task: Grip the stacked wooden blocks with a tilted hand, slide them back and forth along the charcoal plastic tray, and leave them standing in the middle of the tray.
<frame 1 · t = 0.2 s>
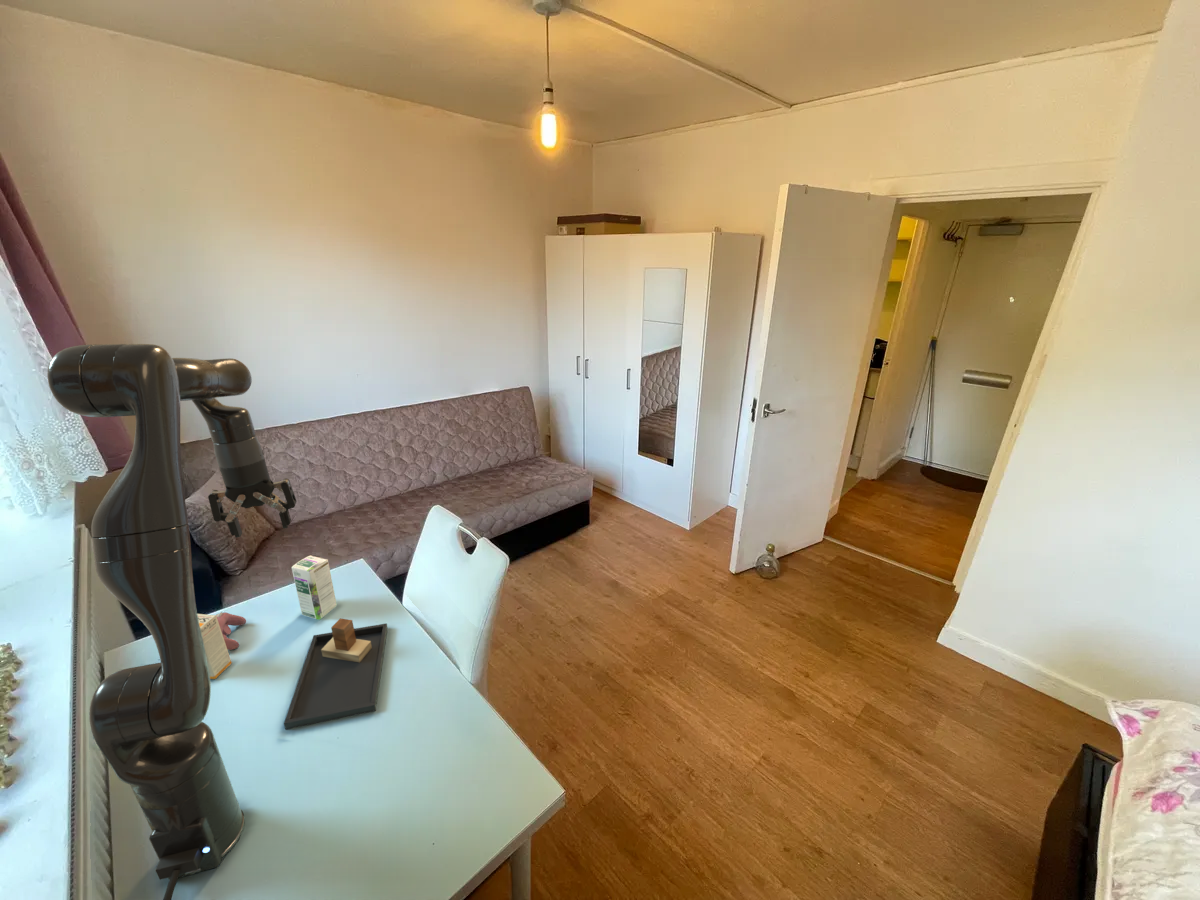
hand: (263, 531, 103), 29 cm above the table, tool pointing down, fingers open, 8 cm apart
syrup box: (320, 612, 122), on the table
supplement box: (206, 670, 104), on the table
tray: (343, 674, 104), on the table
video game controller: (228, 639, 112), on the table
stacked wooden blocks: (347, 652, 109), point 1 cm above the table, touching tray
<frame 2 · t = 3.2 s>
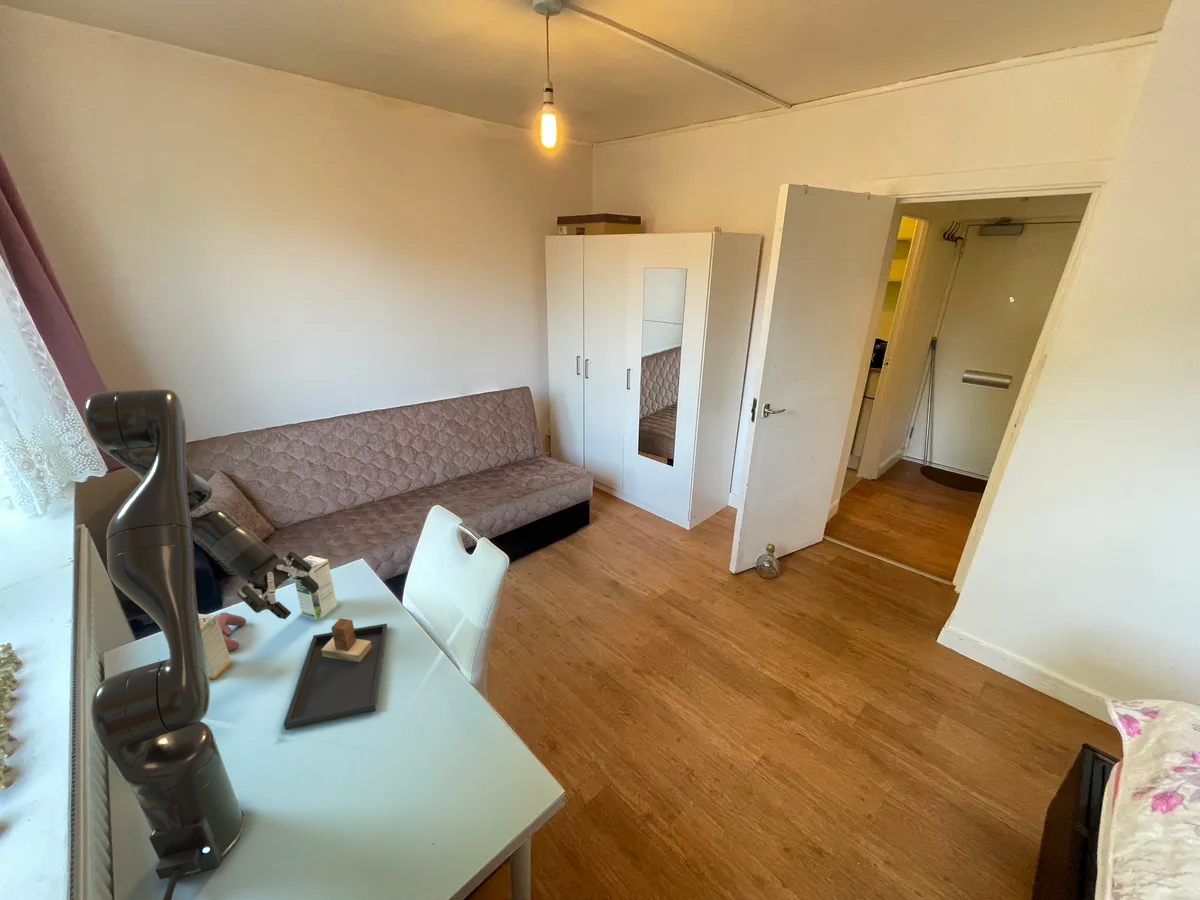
hand: (302, 603, 106), 13 cm above the table, tool tilted 45°, fingers open, 8 cm apart
nothing on the table moved.
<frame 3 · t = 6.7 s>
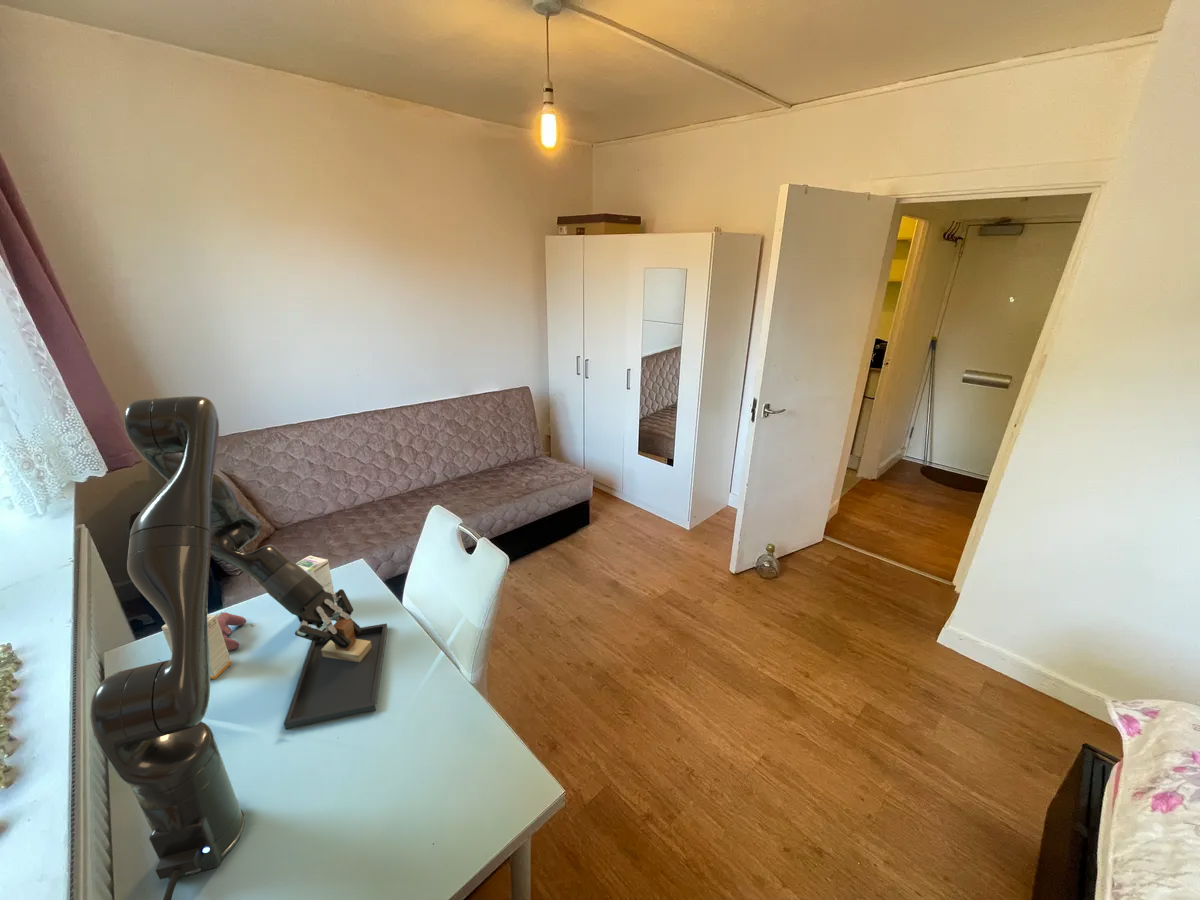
hand: (353, 639, 107), 5 cm above the table, tool tilted 45°, fingers closed on stacked wooden blocks, 3 cm apart
stacked wooden blocks: (347, 652, 109), point 1 cm above the table, touching gripper, tray
everything else where it was.
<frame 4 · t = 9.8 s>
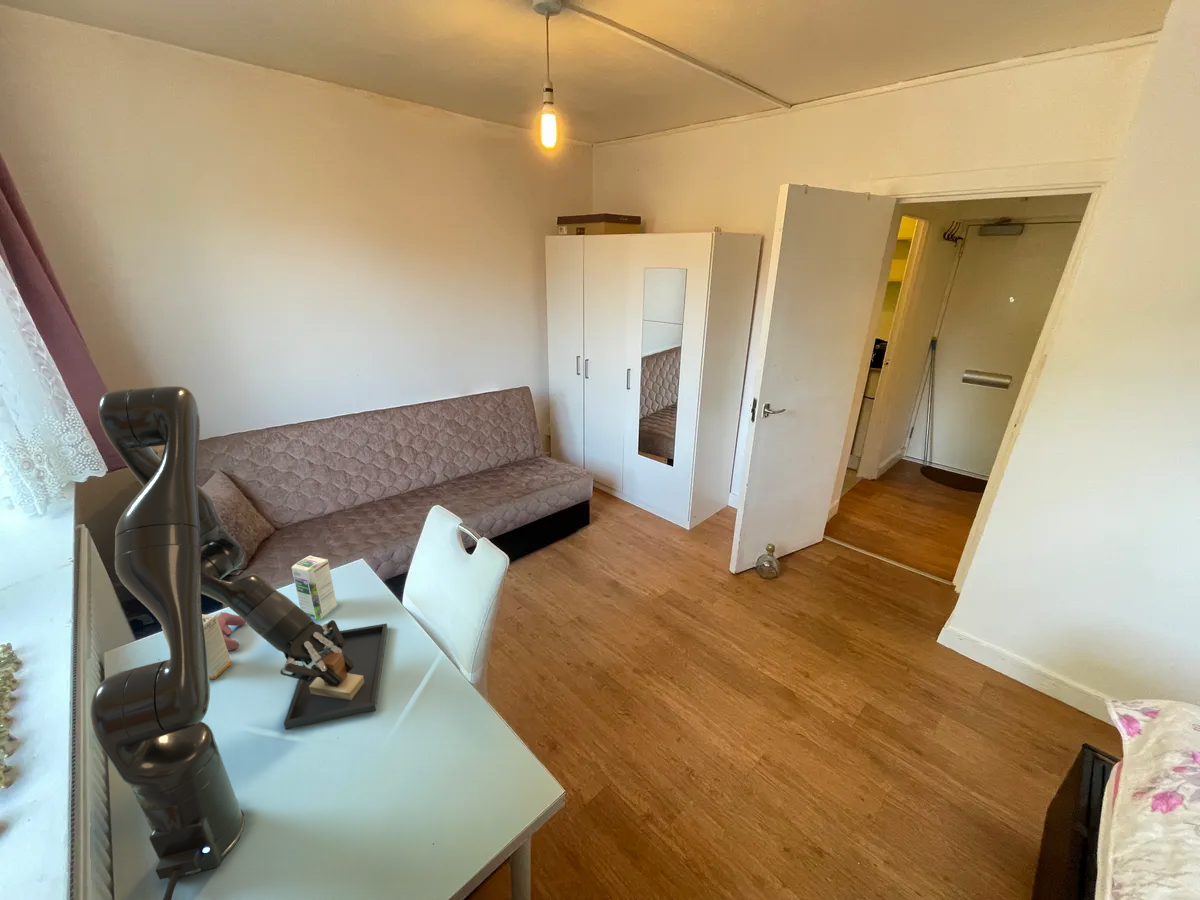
hand: (344, 676, 98), 4 cm above the table, tool tilted 45°, fingers closed on stacked wooden blocks, 3 cm apart
stacked wooden blocks: (338, 688, 100), point 1 cm above the table, touching gripper
everything else where it was.
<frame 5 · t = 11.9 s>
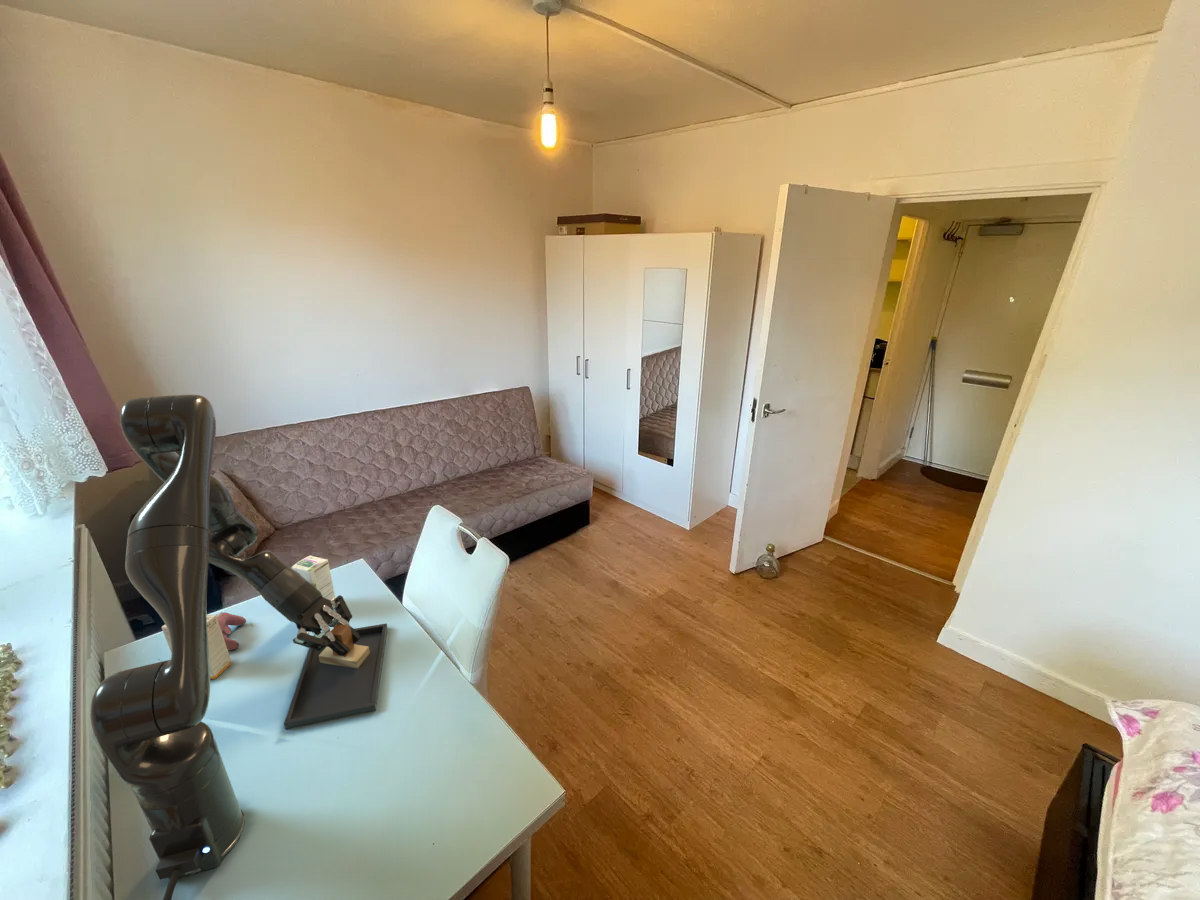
hand: (352, 646, 106), 4 cm above the table, tool tilted 45°, fingers closed on stacked wooden blocks, 3 cm apart
stacked wooden blocks: (345, 658, 107), point 1 cm above the table, touching gripper
everything else where it was.
when the fingers open (4 cm above the table, at t = 13.2 s): stacked wooden blocks stays where it is, resting on tray.
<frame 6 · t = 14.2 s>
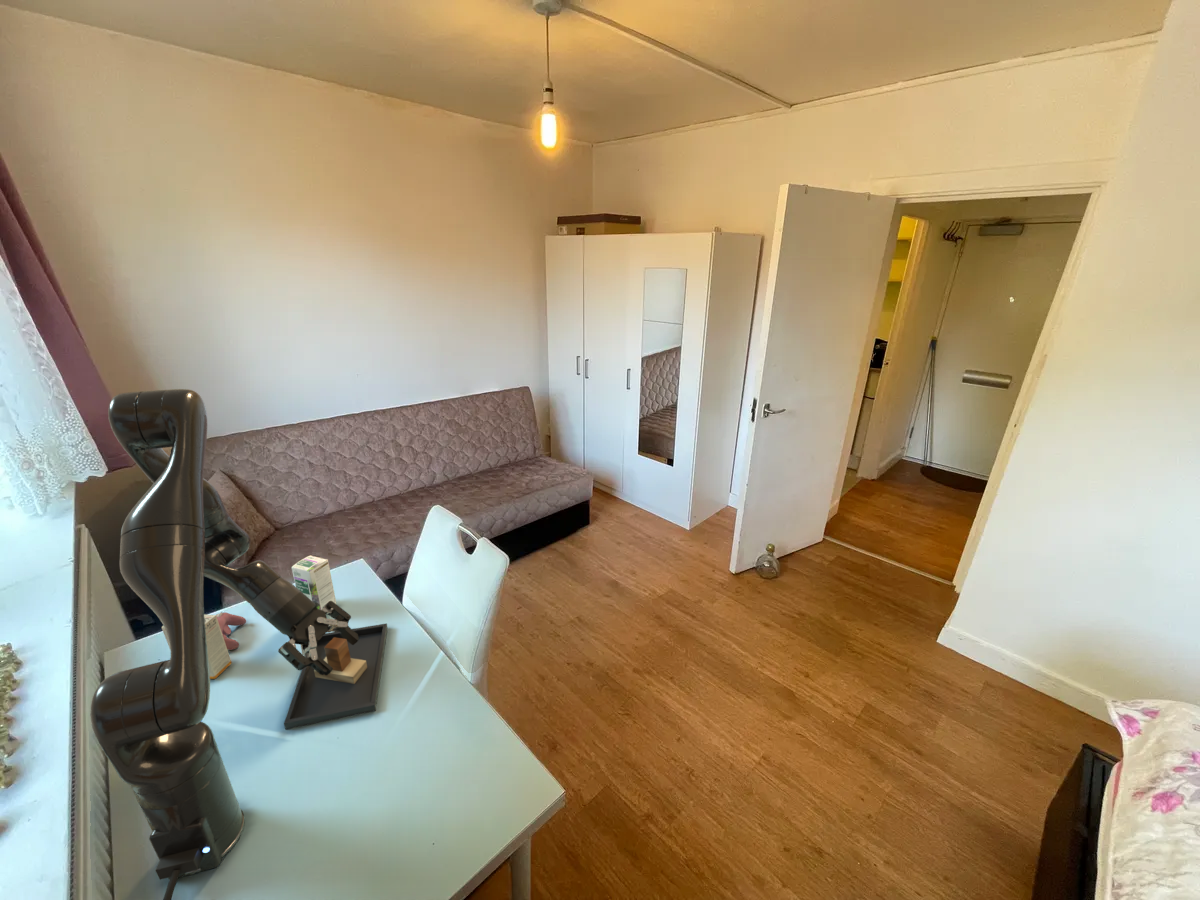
hand: (343, 656, 102), 5 cm above the table, tool tilted 45°, fingers open, 8 cm apart
stacked wooden blocks: (341, 672, 104), point 1 cm above the table, touching tray
everything else where it was.
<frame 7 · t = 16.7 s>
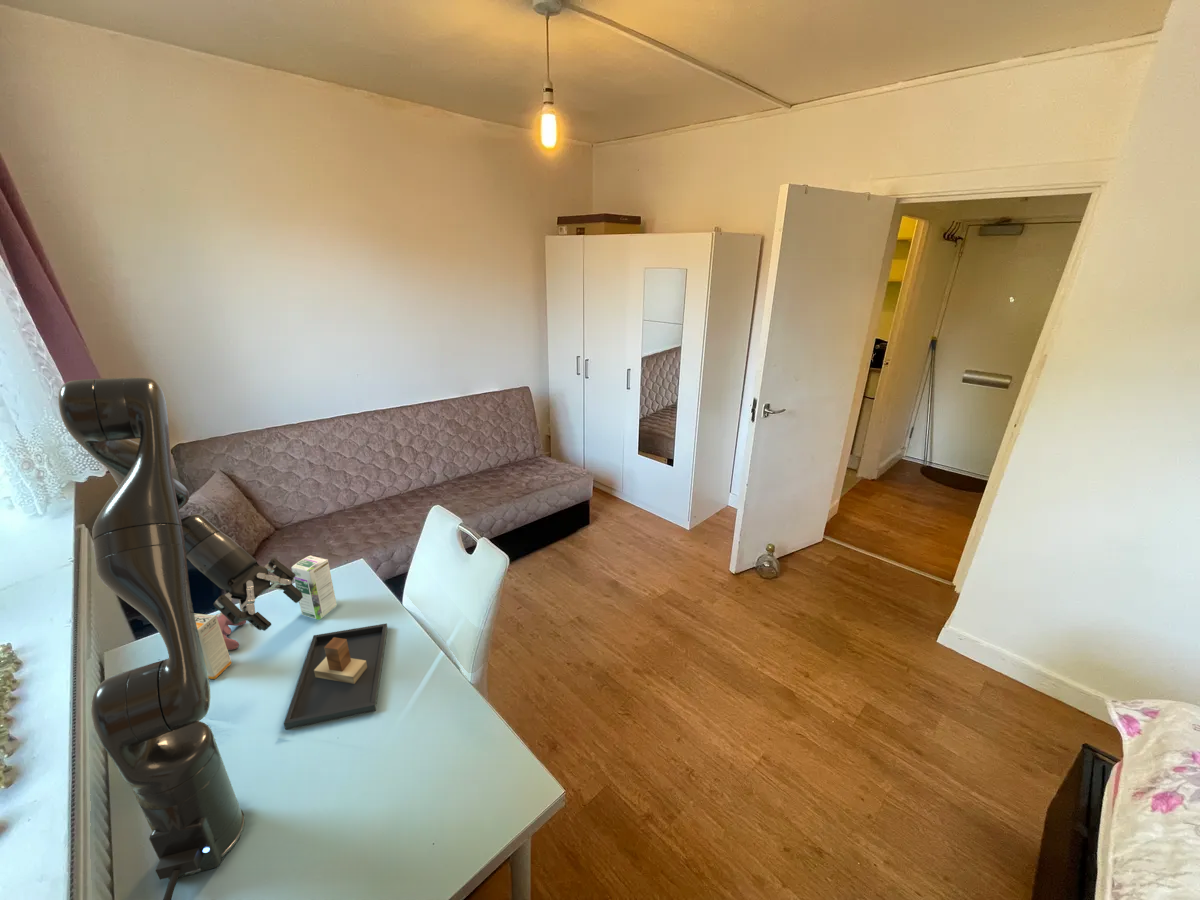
hand: (284, 613, 100), 14 cm above the table, tool tilted 45°, fingers open, 8 cm apart
nothing on the table moved.
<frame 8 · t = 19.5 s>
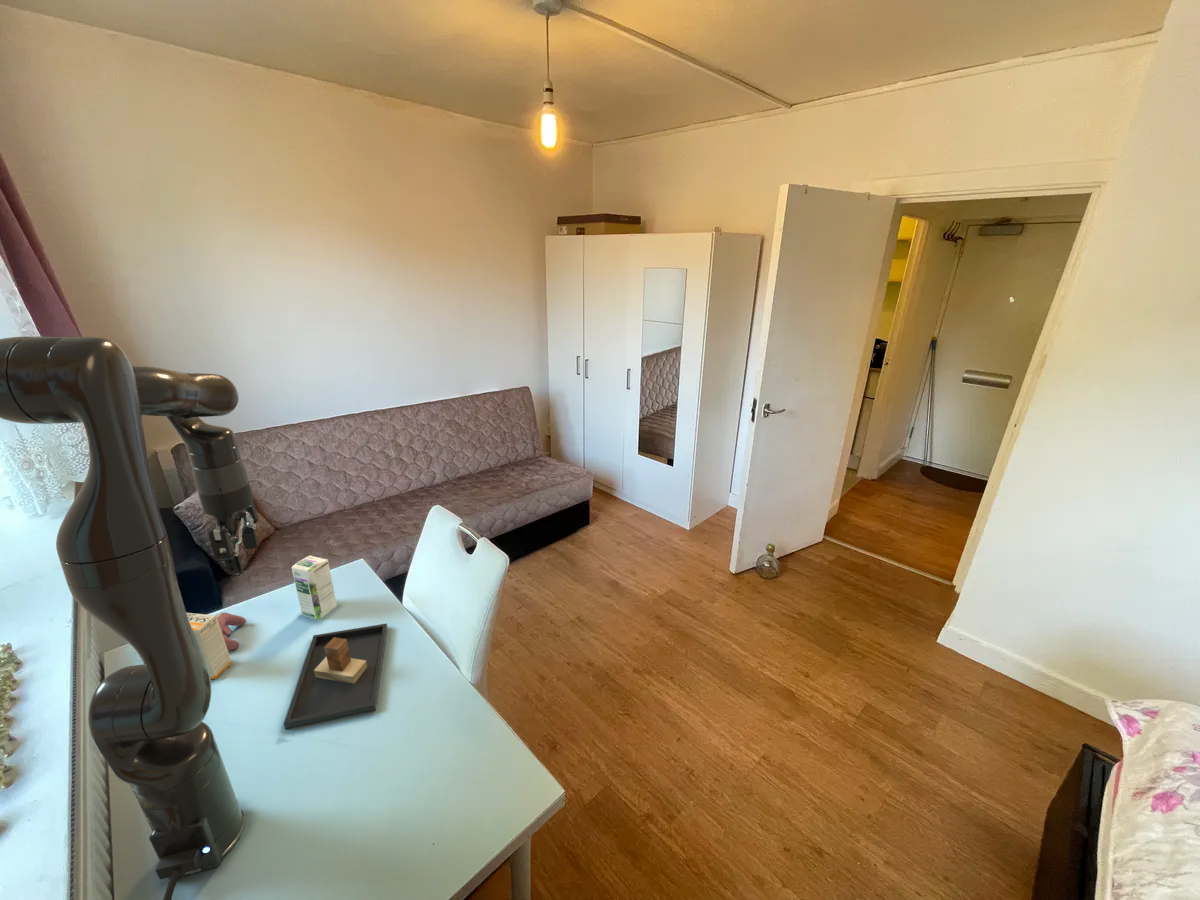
hand: (244, 559, 94), 28 cm above the table, tool pointing down, fingers open, 8 cm apart
nothing on the table moved.
at the end: stacked wooden blocks inside the target area in the tray (0.2 cm from its centre), point 0.6 cm above the tray's base; stacked wooden blocks tilted 0°; the gripper is holding nothing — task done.
